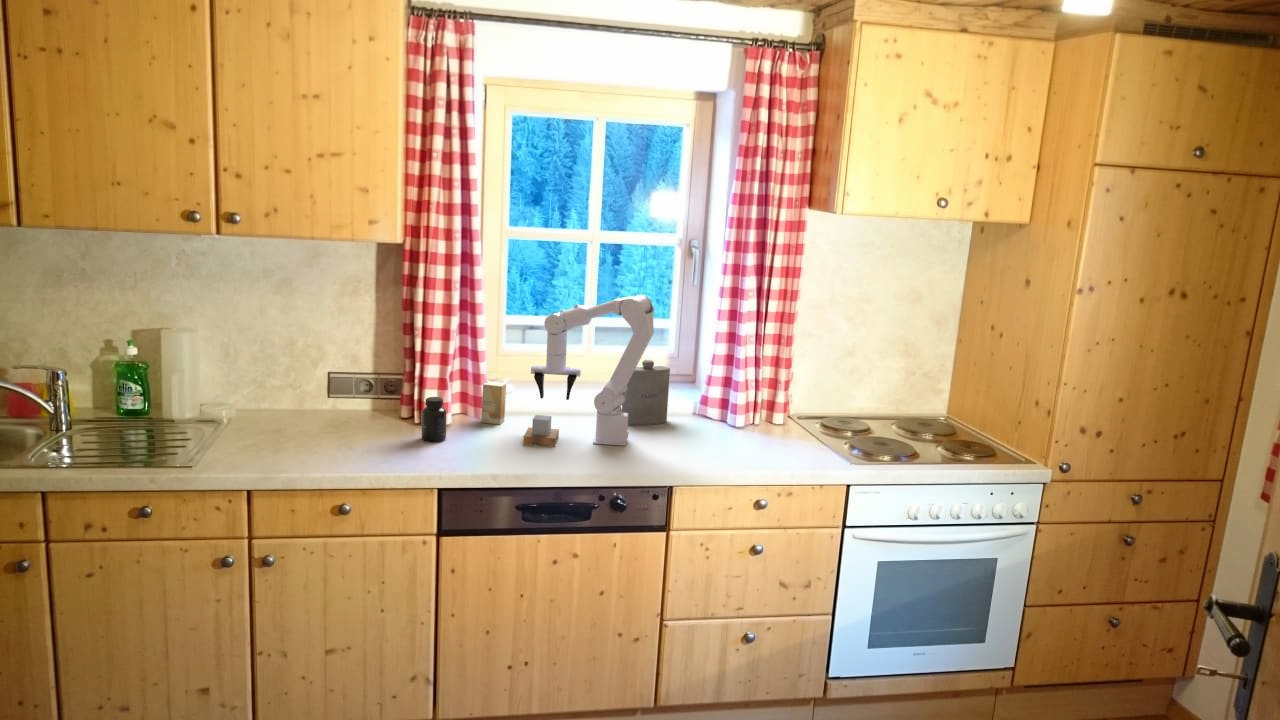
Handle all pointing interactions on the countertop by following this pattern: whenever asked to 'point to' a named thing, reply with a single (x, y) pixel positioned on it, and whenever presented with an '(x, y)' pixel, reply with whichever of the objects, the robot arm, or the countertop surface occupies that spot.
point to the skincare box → (493, 402)
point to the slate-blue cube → (541, 425)
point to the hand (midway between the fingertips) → (554, 398)
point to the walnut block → (541, 438)
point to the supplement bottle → (434, 420)
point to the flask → (647, 395)
